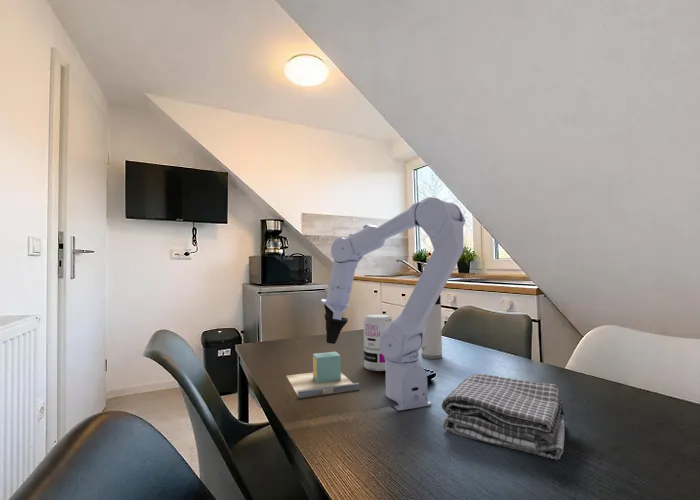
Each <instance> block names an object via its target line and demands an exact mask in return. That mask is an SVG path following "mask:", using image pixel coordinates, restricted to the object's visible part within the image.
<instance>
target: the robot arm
mask: <svg viewBox="0 0 700 500" xmlns="http://www.w3.org/2000/svg"><path fill="white" fill-rule="evenodd" d="M465 223H466V218H465V217H464V215H463V212H462V210H461V208H460V207H459V206H458V205H457V204H455V203H453V202H448V201H445V200H442V199H440V198H438V197H434V196H430V197H429V196H428V197H426V198H423V200H420V201H418V202H415V203H413V204H412V205H411V206H410V207H409V208H406V209H405V210H404V211H402V212H400V213H398V214H397V215H395V216H393V217H392V218H391V219H388V220H387V221H385V222H383V223H382V224H380V225H379V226H377V225H375V224H365V225H363V226H362V228H363V229H361V230H359V231H357V232H355V233H349V234H348V237H347V238H345V237H338V238H336V239H335V240H334V241H333V243H332V244H331V246H330V253H331V257H332V259H333V261H332V267H331V273H330V279H329V282H328V283H329V284H328V288H327V293H326V298H322V299H320V303H321V304H322V305H323V307H324V310H325V313H324V319H325V331H326V343H327V344H332V345H335V344H336V343H337V340H338V339H339V336H340V333H341V331H343V328H344V327H345V325H347V323H348V321H349V320H348V318H347V317H343V313H345V312H346V311H347V310H348V309H349V306H350V304H349V302H350V297H351V292H352V288H353V281H354V277H355V273H356V270H357V267H358V263H359V262H360V261H361V260H362V259H363V257H364V256H365V255H368V254H370V253H371V252H374V251H376V250H378V249H380V248H382V247H383V246H384V244H385V241H386V240H388V239H389V238H392V237H393V236H396V235H398V234H400V233H404V232H405V231H408V230H411V229H413V228H416V227H417V228H421V229H422V230H423V231H424V232H425V234H426V235H427V236H428V238H429V240H430V243H431V245H432V247H433V248H432V249H433V250H432V253H431V255H430V257H429V258H428V261H427V262H426V264H425V266H424V268H423V271H422V273H421V274H420V276H419V277H418V280H417V283H415V286H414V288H413V289H412V292H411V294H410V296H409V298H408V300H407V302H406V303H405V305H404V308H403V310H402V312H401V313H400V314H399V315H398V316H397V317H396V318H394V320H393V322H392V323H391V325H390V327H389V328H388V329H387V330H386V331H384V332H383V333H382V334H381V335H380V338H379V349H380V351H381V353H382V354H383V356H384V359H385V371H384V372H385V396H386V397H387V398H388V399H390V400H393V401H395V402H396V404H395V403H394V404H391V407H393V408H394V409H395V410H396V411H399V412H400V411H405V410H410V409H411V410H412V409H417V408H423V407H428V406H431V405H432V402H431V401H430V400H428V399H429V397H428V376H427V371H426V370H425V368H424V367H422V366H421V363H420V358H419V352H420V351H419V350H421V349H422V345H423V337H424V333H425V331H426V325H425V322H426V320H427V318H428V316H429V314H430V312H431V311H432V309H433V307H434V305H435V303H436V301H437V299H438V298H439V296H440V295H441V293H442V292H443V290H444V288H445V286H446V285H447V282H448V281H449V279H450V277H451V275H452V273H453V272H454V270H455V267H456V266H457V264H458V262H459V260H460V258H461V257H462V255H463V252H464V225H465Z"/></svg>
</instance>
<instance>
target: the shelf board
mask: <svg viewBox="0 0 700 500" xmlns="http://www.w3.org/2000/svg"><path fill="white" fill-rule="evenodd" d="M286 378H287V380H288V382H289V384H290V385H291V387H292V388H293V390H294V392H295V394H296V396H297V397H298V399H302V398H309V397H316V396H322V395H328V394H330V395H331V394H336V393H344V392H353V391H358V390H360V388H361V387H360V382H352V381H351V380H350V379H349V378H348V377H347V376H346V375H345V374H344V373H342V372H341V380H337V381H330V382H322V383H317V382H316V381H315V380H314V378H313V371H312V372H306V373H305V372H304V373H296V374H290V375H286Z"/></svg>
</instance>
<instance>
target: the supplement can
mask: <svg viewBox="0 0 700 500" xmlns="http://www.w3.org/2000/svg"><path fill="white" fill-rule="evenodd" d="M393 321H394V320H393V319H392V316H391V314H387V313H369V314H366V315H365V318H364V320H363V367H364V368H365V369H367V370H369V371H374V372H375V371H377V372H383V371H384V372H386V371H385V359H384V356H383V354H382V353H381V351H380V349H379V338H380V335H381V334H382V333H383V332H384V331H386V330H387V329H388V328H389V327H390V325H391V323H392V322H393Z"/></svg>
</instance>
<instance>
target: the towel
mask: <svg viewBox="0 0 700 500" xmlns="http://www.w3.org/2000/svg"><path fill="white" fill-rule="evenodd" d="M560 392H561V390H560V388H559V386H558V385H556V384H554V383H543V382H535V381H528V380H527V381H526V380H521V379H517V378H510V377H502V376H498V375H489V374H485V373H475V374H472V375H469V376H467V377H466V378H465V379H463V380H462V381H461V382H460V383H459V384H458V386H457V387H455V389H454V390H451V392H450V393H449V394H447V396H446V397H445V399H443V401H442V403H441V404H440V406H441V408H442V410H443V411H444V412H445V414H446V417H445V419H444V421H443V424H442V427H443V430H446V431H448V432H449V433H451V434H453V435H456V436H460V437H464V438H467V439H471V440H476V441H481V442H483V443H487V444H492V445H495V446H501V447H504V448H507V447H508V448H509V449H512V450H518V451H522V452H525V453H529V454H530V453H531V454H532V453H533V454H534V455H536V454H537V455H536V456H541V457H543V458H546V459H549V458H551V459H550V460H552V459H555V460H554V461H558V460H560V459H561V456H562V454H563V453H564V445H565V421H564V417H565V416H566V412H565V411H564V406H563V405H564V402H563V400H562V399H560V396H561V395H560Z"/></svg>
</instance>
